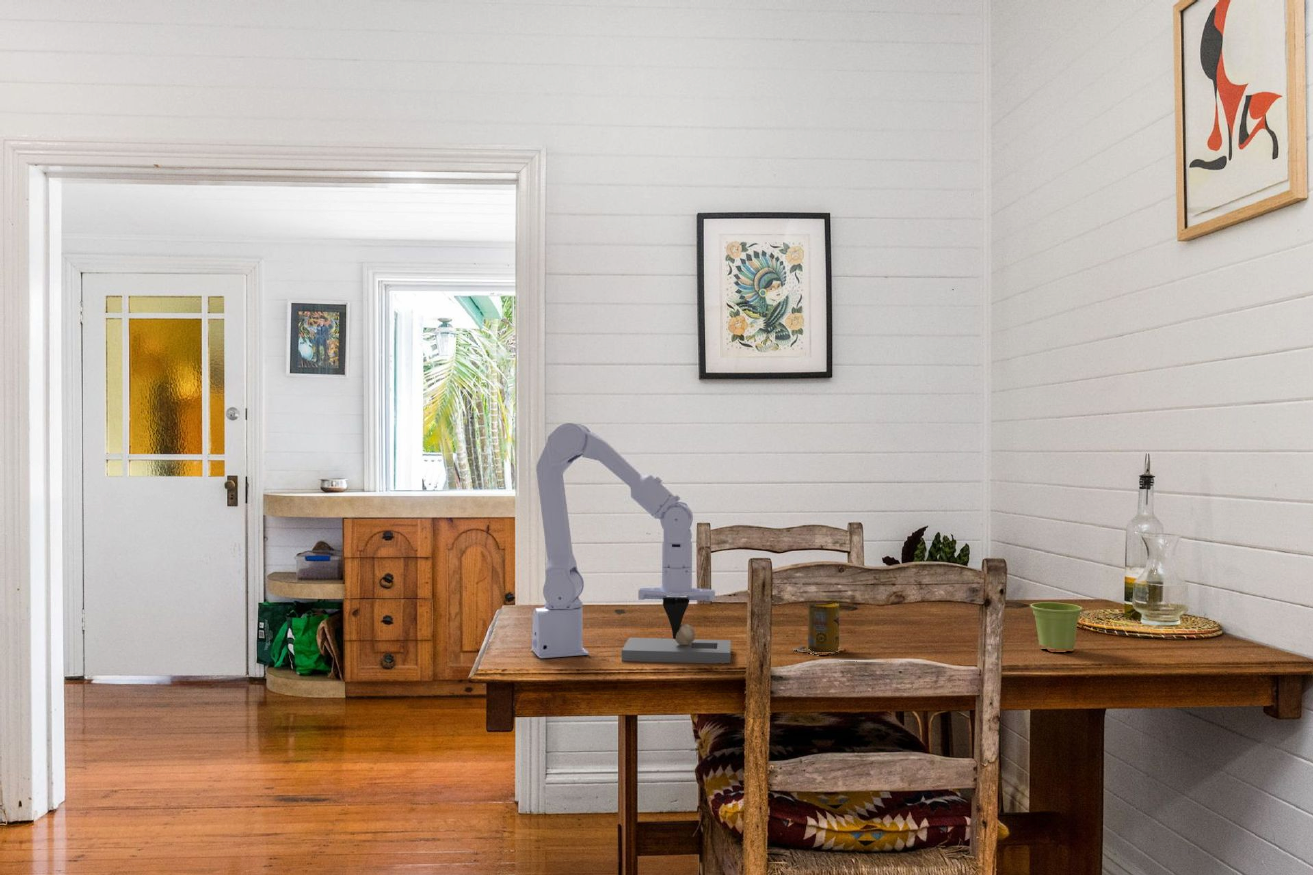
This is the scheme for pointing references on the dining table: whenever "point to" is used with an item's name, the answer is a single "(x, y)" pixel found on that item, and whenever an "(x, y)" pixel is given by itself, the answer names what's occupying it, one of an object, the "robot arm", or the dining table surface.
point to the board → (676, 651)
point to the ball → (685, 635)
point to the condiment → (822, 628)
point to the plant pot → (1056, 624)
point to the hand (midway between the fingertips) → (676, 637)
